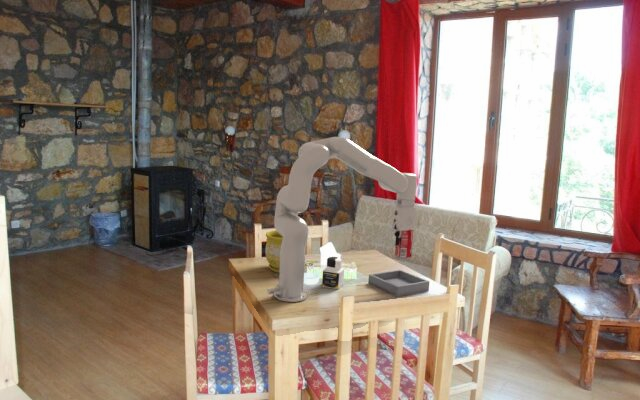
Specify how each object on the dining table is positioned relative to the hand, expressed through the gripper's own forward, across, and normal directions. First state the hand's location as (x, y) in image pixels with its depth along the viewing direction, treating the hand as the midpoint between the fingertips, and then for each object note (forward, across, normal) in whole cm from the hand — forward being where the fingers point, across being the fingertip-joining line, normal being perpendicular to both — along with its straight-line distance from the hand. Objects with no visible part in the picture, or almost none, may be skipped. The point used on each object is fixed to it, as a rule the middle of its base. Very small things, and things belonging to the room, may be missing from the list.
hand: (401, 245), depth 216 cm
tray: (+18, 0, 0) cm, 18 cm away
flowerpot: (+18, -32, +41) cm, 55 cm away
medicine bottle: (+18, -25, +13) cm, 34 cm away
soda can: (+6, +1, 0) cm, 6 cm away
